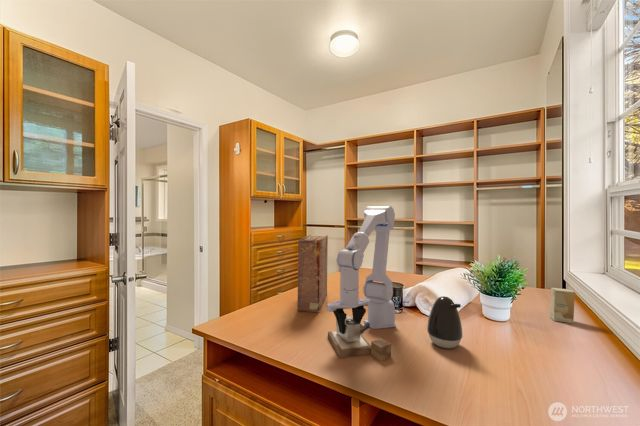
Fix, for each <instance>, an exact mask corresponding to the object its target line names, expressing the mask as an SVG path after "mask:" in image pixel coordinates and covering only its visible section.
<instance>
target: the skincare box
mask: <svg viewBox="0 0 640 426" xmlns="http://www.w3.org/2000/svg"><path fill="white" fill-rule="evenodd" d="M575 295H576V293H575V291H573V290H572V289H567V288H560V287H559V288H558V287H550V301H549V303H550V305H549V318H550V319H551V320H553V321H554V322H560V323H561V322H562V323H568V324H574V321H575V319H574V314H575Z"/></svg>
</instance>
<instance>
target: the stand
mask: <svg viewBox="0 0 640 426" xmlns="http://www.w3.org/2000/svg"><path fill="white" fill-rule="evenodd" d="M327 338H328V341H329V342H330V344H331V345H332V347H333V348H334V351H335V352H336V354H337V356H338V358H339V359H344V358H350V357H360V356H368V355H371V343H369V342H368V341H367V339H366V338H365V337H364V336H363V335H362V334H361V333H360V340H359V341H354V342H349V343H347V342H346V341H345V340H344V339H343V338H342V337H341V336H339V335H338V334H337V333H336V330H332V331H330V330H329V331H327Z"/></svg>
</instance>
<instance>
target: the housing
mask: <svg viewBox="0 0 640 426" xmlns="http://www.w3.org/2000/svg"><path fill="white" fill-rule="evenodd" d="M335 319H336V318H335ZM335 324H336V325H335V327H336V328H335V331H336V333H337V334H338V335H339V336H341V337H342V338H343V339H344V340H345V341H346V342H347V343H349V342H354V341H359V340H360V334H361V332H360V324H361V323H358V322H357V321H356V320H354V319H353V317H351V315H348V314H347V315H346V319H345V331H344V334H342V333H340V332H339V326H338V322H337V319H336V323H335Z"/></svg>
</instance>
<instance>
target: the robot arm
mask: <svg viewBox="0 0 640 426" xmlns="http://www.w3.org/2000/svg"><path fill="white" fill-rule="evenodd" d="M363 212H364V213H363V216H364V220H363V223H362V224H361V226H360V229H359V230H358V231H357V232H355V233H353V235H352V236H351V239H350V240H349V241H348V243H347V245H346V247H345V248H343V249H341V250H339V252H338V254H337V257H336V264H337V267H338V272H339V273H340V274H339V275H340V279H339V280H340V284H339V287H340V289H339V293H340V294H339V300H338V301H333V302H331V303H330V302H329V303H326V311H327V312H329V313H333V315H334V317H335V319H337V322H338V326H339V332H340V333H342V334H344V331H345V319H346V316H347V315H348V314H347V313H346V312H345V310H347V309H351V311H352V312H351V315H352V318H353V319H354V320H356V321H357V322H358V323H360V324H362V323H361V322H362V320H363V322H364V323H366V322H368V323H369V326H368V327H370V329H372V330H377V329H389V328H395V327H396V320H395V319H396V308H395V304H394V302H393V300H392V299H393V295H394V288H393V281H392V279H391V278H390V277H389V276H388V275H387V274H386V273H387V263H388V251H389V243H390V242H389V241H390V232H391V231H392V230H394V228H395V227H394V226H395V220H396V219H395V217H396V216H395V215H396V214H395V211H394V208H393V206H391V205H387V206H386V205H383V206H382V205H381V206H379V205H377V206H375V205H373V206H371V205H367V206H366V208H365V209H364V211H363ZM373 231H375V232H376V233H375V243H374V251H373V252H374V253H373V261H372V271H371V273H370V274H369V275H368V276H366V277H365V281H364V283H363V284H364V285H363V287H362V294H363V296H364V297H365V298H359V292H360V291H359V288H360V287H359V284H360V283H359V281H360V279H359V278H360V277H359V276H360V275H359V273H360V270H359V269H360V268H361V267H362V266H363V261H364V256H365V252H366V249H367V247H368V246H369V244H370V239H369V237H370V235H371V234H372V232H373ZM365 307H367V309H366V308H365ZM366 311H367V312H366ZM366 313H367V318H366V319H363V317H364V316H365V315H366ZM396 328H397V327H396Z"/></svg>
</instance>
